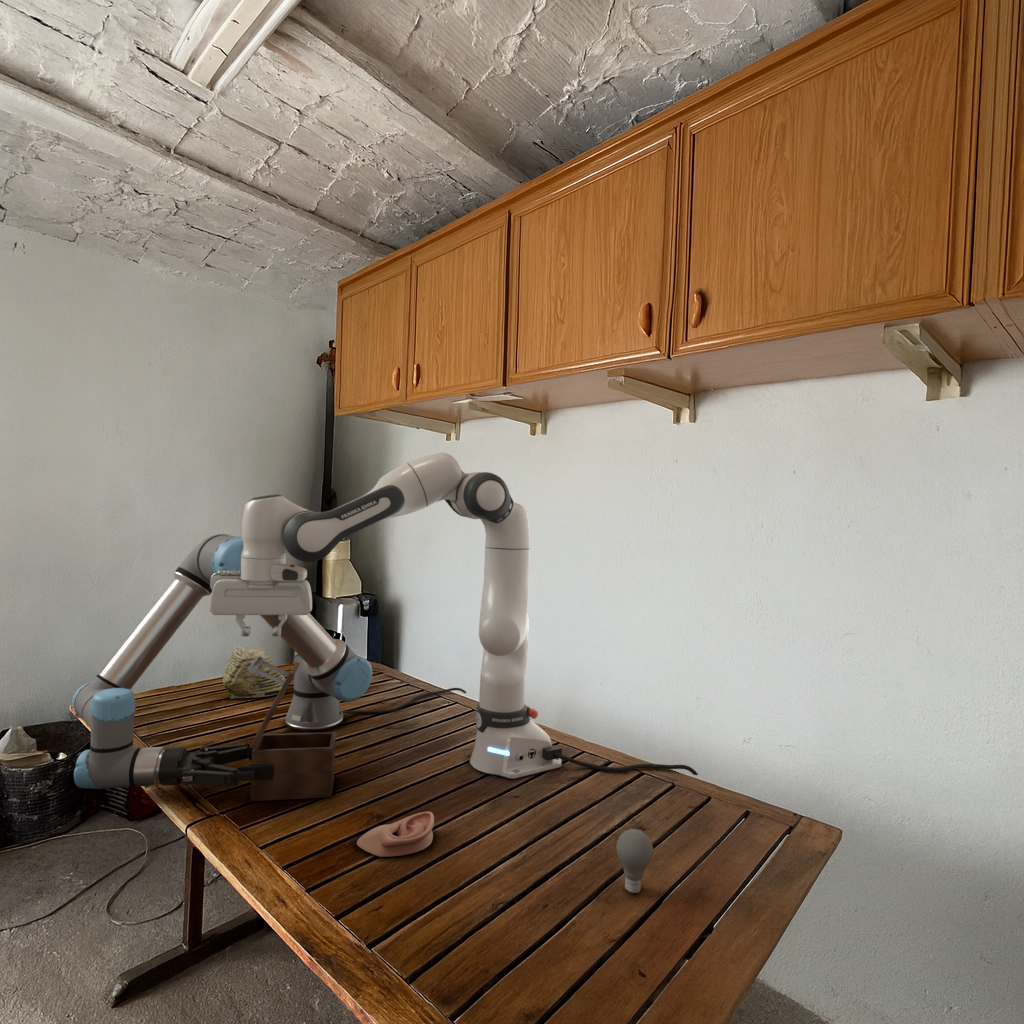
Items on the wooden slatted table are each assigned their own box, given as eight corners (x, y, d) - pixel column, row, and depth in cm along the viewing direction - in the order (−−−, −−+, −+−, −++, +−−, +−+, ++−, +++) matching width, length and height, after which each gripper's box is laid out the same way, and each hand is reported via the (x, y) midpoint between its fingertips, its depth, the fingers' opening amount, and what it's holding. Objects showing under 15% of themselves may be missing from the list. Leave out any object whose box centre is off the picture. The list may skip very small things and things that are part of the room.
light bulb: (610, 879, 108) (613, 822, 108) (644, 879, 109) (647, 822, 109) (619, 902, 102) (622, 840, 102) (655, 901, 103) (658, 840, 103)
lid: (300, 663, 141) (262, 645, 139) (294, 675, 132) (254, 656, 130) (262, 732, 139) (224, 716, 138) (254, 749, 130) (213, 731, 129)
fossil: (218, 695, 195) (220, 647, 195) (278, 685, 208) (279, 640, 207) (228, 703, 189) (230, 653, 188) (289, 692, 201) (290, 645, 201)
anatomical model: (349, 829, 113) (376, 800, 125) (348, 851, 113) (375, 820, 125) (420, 841, 111) (440, 810, 122) (419, 863, 111) (439, 830, 122)
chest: (334, 777, 143) (335, 731, 143) (330, 797, 134) (332, 748, 133) (258, 781, 140) (260, 734, 139) (250, 801, 130) (251, 751, 130)
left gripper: (179, 762, 142) (284, 758, 147) (142, 810, 121) (267, 803, 125) (180, 729, 142) (285, 726, 146) (144, 771, 120) (268, 766, 125)
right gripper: (206, 571, 129) (204, 639, 129) (311, 573, 133) (309, 638, 133) (214, 568, 135) (212, 632, 135) (314, 569, 139) (312, 632, 140)
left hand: (276, 761), depth 136 cm, fingers closed on chest, 9 cm apart
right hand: (261, 635), depth 134 cm, fingers open, 5 cm apart
